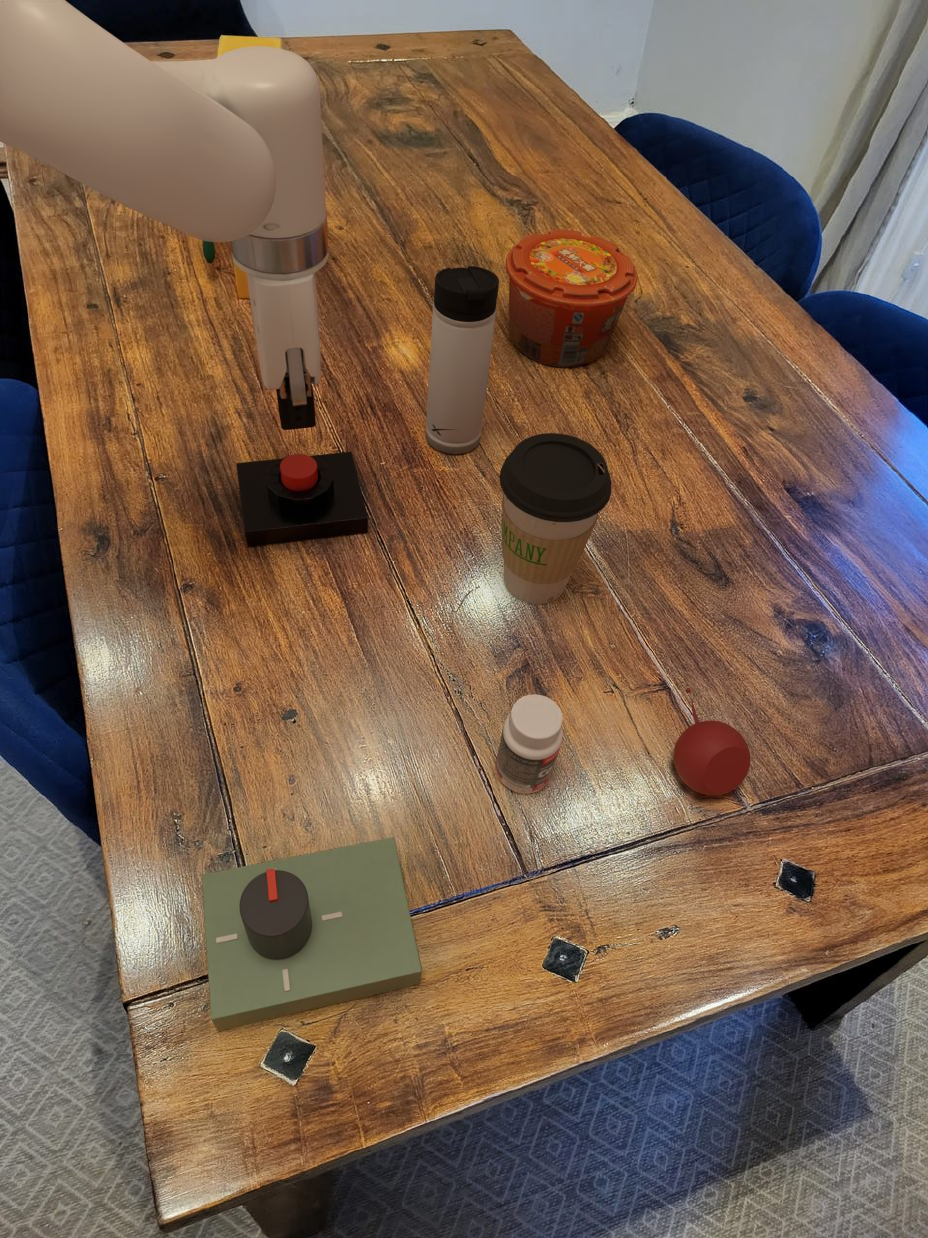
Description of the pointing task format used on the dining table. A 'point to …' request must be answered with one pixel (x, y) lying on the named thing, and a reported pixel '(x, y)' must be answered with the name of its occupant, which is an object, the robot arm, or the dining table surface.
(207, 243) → the toys
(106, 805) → the dining table surface
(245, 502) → the switch block
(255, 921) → the knob
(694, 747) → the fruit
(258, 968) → the panel
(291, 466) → the button
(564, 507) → the coffee cup
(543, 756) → the pill bottle
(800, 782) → the dining table surface
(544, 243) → the food container
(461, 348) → the travel mug
